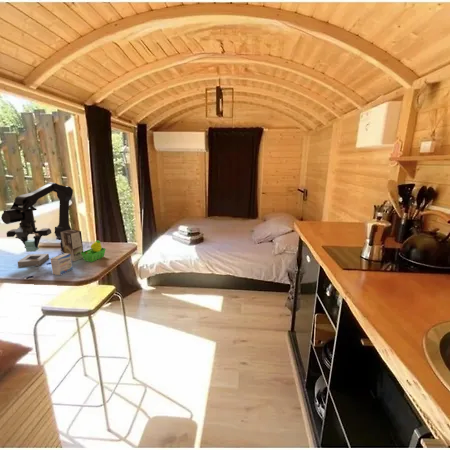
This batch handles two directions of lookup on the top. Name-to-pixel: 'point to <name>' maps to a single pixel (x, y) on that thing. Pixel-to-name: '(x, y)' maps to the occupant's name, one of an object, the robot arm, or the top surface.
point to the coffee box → (72, 243)
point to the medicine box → (61, 263)
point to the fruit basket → (94, 252)
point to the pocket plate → (33, 259)
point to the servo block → (30, 245)
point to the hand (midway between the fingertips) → (32, 247)
